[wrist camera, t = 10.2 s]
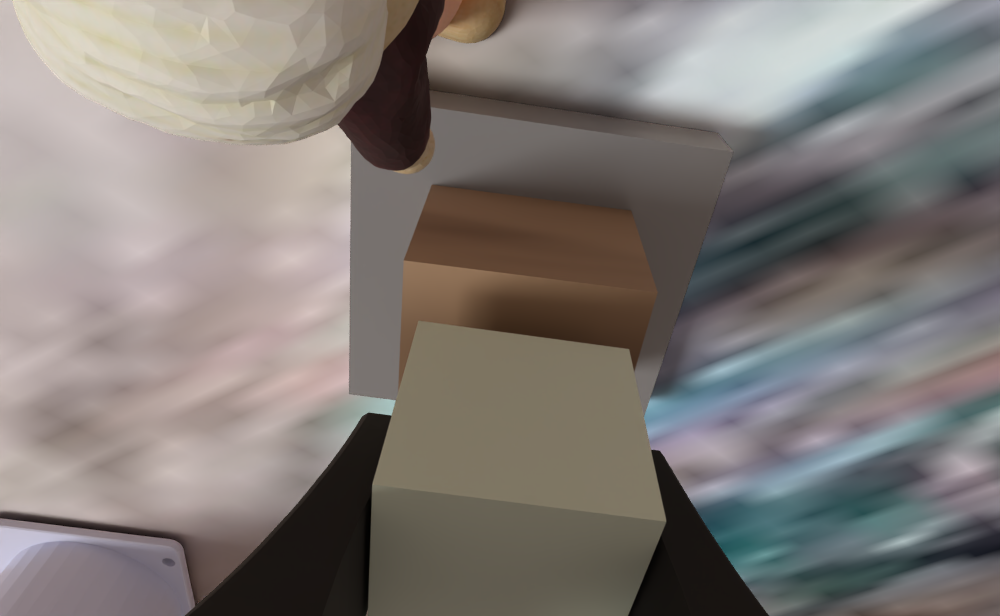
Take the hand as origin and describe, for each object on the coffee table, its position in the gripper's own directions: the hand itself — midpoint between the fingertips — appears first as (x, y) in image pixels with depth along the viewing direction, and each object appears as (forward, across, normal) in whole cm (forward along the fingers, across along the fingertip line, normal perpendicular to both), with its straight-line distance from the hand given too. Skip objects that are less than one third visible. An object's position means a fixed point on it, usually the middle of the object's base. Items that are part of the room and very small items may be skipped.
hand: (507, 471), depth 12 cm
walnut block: (+7, 0, 0) cm, 7 cm away
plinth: (+8, 0, 0) cm, 8 cm away
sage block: (+2, 0, 0) cm, 2 cm away
